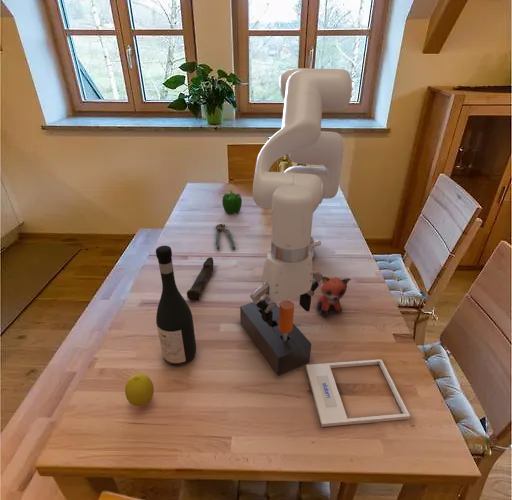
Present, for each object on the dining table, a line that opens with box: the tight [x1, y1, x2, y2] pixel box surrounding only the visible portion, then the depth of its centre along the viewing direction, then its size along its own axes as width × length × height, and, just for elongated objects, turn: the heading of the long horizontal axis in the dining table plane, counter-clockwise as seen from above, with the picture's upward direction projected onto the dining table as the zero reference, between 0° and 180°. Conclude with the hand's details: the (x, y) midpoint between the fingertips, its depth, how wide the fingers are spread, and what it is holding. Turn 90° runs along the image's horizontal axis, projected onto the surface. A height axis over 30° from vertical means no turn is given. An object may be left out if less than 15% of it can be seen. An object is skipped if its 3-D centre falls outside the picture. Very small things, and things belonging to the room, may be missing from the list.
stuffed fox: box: [316, 275, 351, 318], centre depth 98 cm, size 8×11×12 cm
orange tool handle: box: [279, 299, 295, 342], centre depth 81 cm, size 3×3×16 cm
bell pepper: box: [221, 188, 243, 216], centre depth 152 cm, size 8×8×10 cm
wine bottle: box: [155, 245, 197, 366], centre depth 78 cm, size 8×8×30 cm
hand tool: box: [186, 256, 215, 302], centre depth 109 cm, size 19×4×5 cm, turn 166°
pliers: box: [215, 223, 236, 251], centre depth 135 cm, size 20×6×1 cm, turn 9°
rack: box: [239, 298, 312, 377], centre depth 88 cm, size 9×19×6 cm, turn 28°
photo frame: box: [305, 358, 411, 428], centre depth 76 cm, size 15×1×18 cm
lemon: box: [124, 373, 155, 407], centre depth 73 cm, size 6×6×8 cm
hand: (286, 314), depth 78 cm, fingers open, 9 cm apart
